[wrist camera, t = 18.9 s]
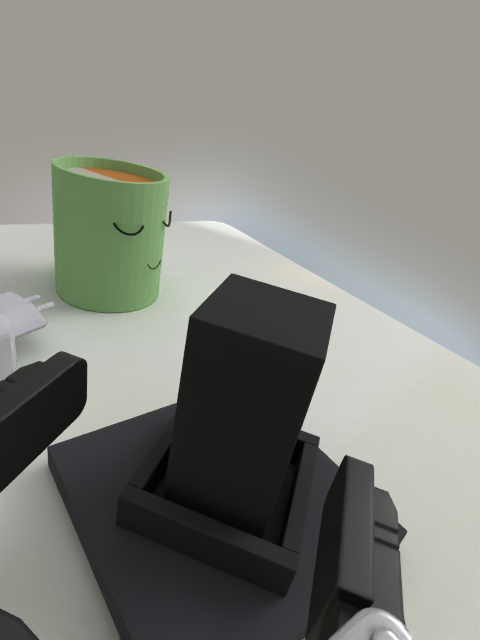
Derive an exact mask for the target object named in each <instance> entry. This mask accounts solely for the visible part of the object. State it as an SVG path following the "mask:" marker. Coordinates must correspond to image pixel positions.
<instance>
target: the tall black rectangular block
mask: <svg viewBox="0 0 480 640" xmlns="http://www.w3.org/2000/svg"><path fill="white" fill-rule="evenodd" d="M335 309H336V304H334V303H331V302H327V301H324V300H320V299H317V298H314V297H310V296H307V295H304V294H300V293H297V292H293V291H290V290H287V289H283V288H280V287H276V286H273V285H270V284H266V283H263V282H260V281H256V280H253V279H249V278H246V277H243V276H239V275H236V274H230V276H229V277H228V278H227V279H226V280H225V281H224V282H223V283H222V284H221V285H220V286H219V287H218V288H217V289H216V290H215V291H214V292H213V293H212V294H211V295H210V296H209V297H208V298H207V299H206V300H205V301H204V302H203V303H202V304H201V305H200V306H199V307H198V309H197V310H196V311H195V312H194V313H193V314H192V315H191V316H190V317H189V324H188V330H187V337H186V344H185V351H184V358H183V365H182V371H181V378H180V385H179V392H178V399H177V406H176V412H175V419H174V426H173V433H172V440H171V447H170V453H169V460H168V467H167V474H166V481H165V488H164V494H163V499H166V500H168V501H171V502H173V503H176V504H178V505H180V506H183V507H185V508H188V509H190V510H193V511H195V512H197V513H200V514H202V515H205V516H207V517H210V518H212V519H214V520H217V521H219V522H222V523H224V524H227V525H229V526H231V527H234V528H236V529H239V530H241V531H244V532H246V533H248V534H251V535H253V536H256V537H258V538H261V539H262V537H263V535H264V532H265V529H266V526H267V523H268V521H269V518H270V515H271V512H272V509H273V506H274V504H275V501H276V498H277V495H278V492H279V490H280V487H281V484H282V481H283V478H284V475H285V473H286V470H287V467H288V464H289V461H290V459H291V456H292V453H293V450H294V447H295V444H296V442H297V439H298V436H299V433H300V430H301V427H302V425H303V422H304V419H305V416H306V413H307V411H308V408H309V405H310V402H311V399H312V396H313V394H314V391H315V388H316V385H317V382H318V380H319V377H320V374H321V371H322V368H323V365H324V363H325V359H326V354H327V349H328V344H329V339H330V334H331V329H332V324H333V319H334V314H335Z"/></svg>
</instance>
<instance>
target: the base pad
mask: <svg viewBox="0 0 480 640" xmlns="http://www.w3.org/2000/svg"><path fill="white" fill-rule="evenodd" d="M176 406H177V403H175V404H172V405H169V406H166V407H163V408H161V409H158V410H155V411H152V412H149V413H146V414H143V415H140V416H137V417H134V418H131V419H128V420H125V421H122V422H119V423H116V424H113V425H110V426H107V427H104V428H102V429H99V430H96V431H93V432H90V433H87V434H84V435H81V436H78V437H75V438H72V439H69V440H66V441H63V442H60V443H57V444H54V445H51V446H49V447H48V448H47V450H48V466H49V468H50V470H51V473H52V475H53V478H54V480H55V482H56V485H57V487H58V489H59V492H60V494H61V497H62V499H63V501H64V504H65V506H66V508H67V511H68V513H69V516H70V518H71V520H72V523H73V525H74V527H75V530H76V532H77V535H78V537H79V539H80V542H81V544H82V547H83V549H84V551H85V554H86V556H87V558H88V561H89V563H90V566H91V568H92V570H93V573H94V575H95V577H96V580H97V582H98V585H99V587H100V589H101V592H102V594H103V596H104V599H105V601H106V604H107V606H108V608H109V611H110V613H111V615H112V618H113V620H114V623H115V625H116V627H117V630H118V632H119V634H120V637H121V639H122V640H303V639H304V638H305V637H306V630H307V622H308V615H309V607H310V600H311V593H312V585H313V578H314V570H315V563H316V555H317V548H318V540H319V533H320V525H321V518H322V511H323V507H324V503H325V499H326V496H327V493H328V491H329V488H330V486H331V484H332V482H333V480H334V478H335V475H336V473H337V471H338V469H339V467H338V466H337V465H336V464H335V463H334V462H333V461H332V460H331V459H330V458H329V457H328V456H327V455H326V454H325V453H324V452H322V451H321V450H320V449H319V448H318V446H319V440H320V437H318V436H315V435H312V434H310V433H307V432H304V431H301V430H300V433H299V436H298V439H297V442H296V444H295V447H294V450H293V453H292V456H291V459H290V461H289V464H288V467H287V470H286V473H285V475H284V478H283V481H282V484H281V487H280V490H279V492H278V495H277V498H276V501H275V504H274V506H273V509H272V512H271V515H270V518H269V521H268V523H267V526H266V529H265V532H264V535H263V537H262V539H261V538H258V537H256V536H253V535H251V534H248V533H246V532H244V531H241V530H239V529H236V528H234V527H231V526H229V525H227V524H224V523H222V522H219V521H217V520H214V519H212V518H210V517H207V516H205V515H202V514H200V513H197V512H195V511H193V510H190V509H188V508H185V507H183V506H180V505H178V504H176V503H173V502H171V501H168V500H166V499H163V494H164V488H165V481H166V474H167V467H168V460H169V453H170V447H171V440H172V433H173V426H174V419H175V412H176ZM406 533H407V530H406V529H405V528H403V527H402V526H401V525H400V524H399V523H398V535H399V545H400V543H401V541H402V540H403V538H404V537H405V535H406Z"/></svg>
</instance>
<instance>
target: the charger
mask: <svg viewBox="0 0 480 640" xmlns="http://www.w3.org/2000/svg"><path fill="white" fill-rule="evenodd" d="M38 299H40V296H39V295H37V294H36V295H32V296H29V297H26V298H22V297H20V296H18V295H16V294H14V293H12V292H5V293H0V381H2V380H5V378H6V377H7V376H9V375H10V374H12V373H13V372H15V369H16V365H17V354H16V343H15V339H16V338H19V337H21V336H24V335H26V334H28V333H31V332H33V331H36V330H38V329H41V328H43V327H45V326H46V325H47V324H48V323H47V321H46V319H45V317H44V316H43V315H42V314H41V313H40V312H41V311H44V310H46V309H49V308H52V307H54V303H53V302H49V303H46V304H43V305H40V306H38V307H35V306H34V305H33V304H32V303H31V302H32V301H35V300H38Z"/></svg>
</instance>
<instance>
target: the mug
mask: <svg viewBox="0 0 480 640" xmlns="http://www.w3.org/2000/svg"><path fill="white" fill-rule="evenodd" d="M51 165H52V166H51V167H52V196H53V225H54V254H55V283H56V292H57V294H58V295H59V297H60V298H62V299H63V300H64V301H65V302H67V303H69V304H71V305H73V306H76V307H78V308H82V309H86V310H90V311H96V312H106V313H119V312H129V311H134V310H138V309H141V308H144V307H146V306H149V305H150V304H152V303H153V302H154V301H155V300H156V299H157V297H158V292H159V282H160V273H161V263H162V253H163V243H164V233H165V226H166V227H169V226H170V223H171V213H172V211H170V213H169V223H168V225H167V224H166V213H167V204H168V194H169V184H170V177H169V176H168V175H167V174H166V173H164V172H162V171H160V170H157V169H154V168H151V167H148V166H145V165H141V164H137V163H132V162H128V161H122V160H117V159H110V158H102V157H93V156H62V157H57V158H54V159H52V161H51Z"/></svg>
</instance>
